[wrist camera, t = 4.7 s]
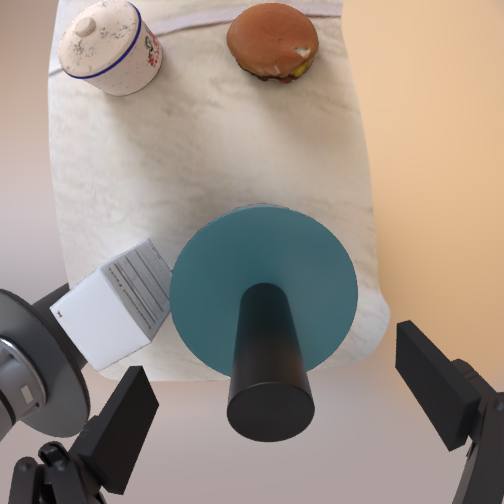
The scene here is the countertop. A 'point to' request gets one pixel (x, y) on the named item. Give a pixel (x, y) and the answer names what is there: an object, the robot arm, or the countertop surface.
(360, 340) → the countertop surface
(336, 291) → the tin lid
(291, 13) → the burger
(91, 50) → the teacup with lid
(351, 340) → the countertop surface
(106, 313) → the white packaging box
